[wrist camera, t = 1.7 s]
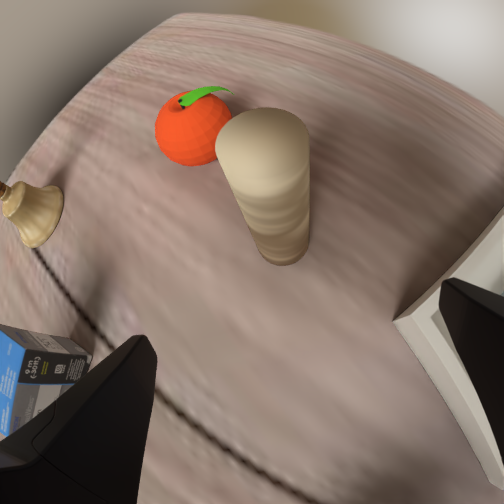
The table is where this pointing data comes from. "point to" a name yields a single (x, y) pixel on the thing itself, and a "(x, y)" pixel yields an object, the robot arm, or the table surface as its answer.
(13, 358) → the label tape cartridge
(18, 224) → the hand bell
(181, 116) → the clementine
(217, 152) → the peg
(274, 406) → the table surface
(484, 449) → the tray
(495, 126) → the table surface
